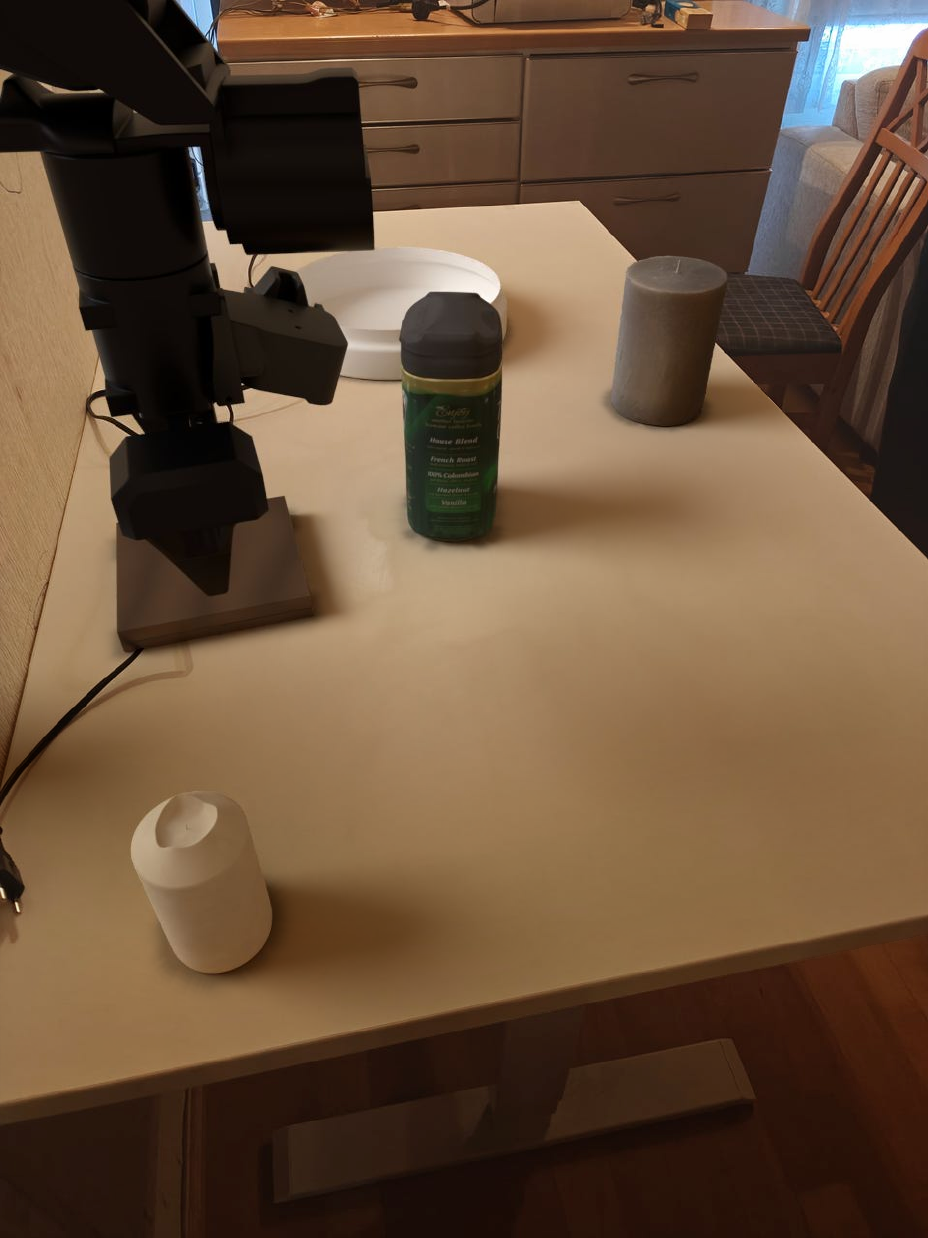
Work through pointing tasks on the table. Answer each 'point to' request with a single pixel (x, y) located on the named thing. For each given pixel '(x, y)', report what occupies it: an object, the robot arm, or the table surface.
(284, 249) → the robot arm
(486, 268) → the round white dish
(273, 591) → the dark wooden base block
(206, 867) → the candle
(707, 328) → the pillar candle
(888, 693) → the table surface
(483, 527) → the coffee jar
